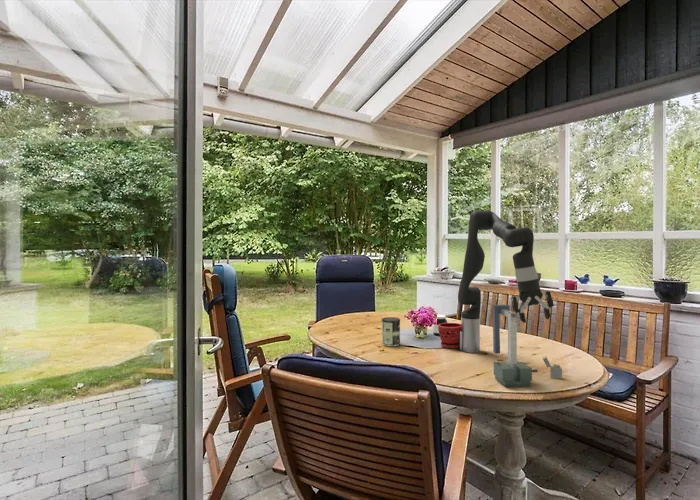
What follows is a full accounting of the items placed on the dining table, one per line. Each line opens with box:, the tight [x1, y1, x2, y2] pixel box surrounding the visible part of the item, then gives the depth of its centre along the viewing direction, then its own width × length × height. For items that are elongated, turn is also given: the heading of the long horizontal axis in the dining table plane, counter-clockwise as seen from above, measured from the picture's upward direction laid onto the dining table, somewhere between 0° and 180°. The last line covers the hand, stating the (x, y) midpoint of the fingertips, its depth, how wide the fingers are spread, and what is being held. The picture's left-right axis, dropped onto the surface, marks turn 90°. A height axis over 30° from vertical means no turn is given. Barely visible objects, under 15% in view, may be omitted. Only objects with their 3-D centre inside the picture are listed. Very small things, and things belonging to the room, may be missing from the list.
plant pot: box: [438, 322, 461, 349], centre depth 194 cm, size 13×13×12 cm
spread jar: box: [432, 314, 450, 336], centre depth 219 cm, size 12×11×12 cm
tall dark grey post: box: [492, 304, 511, 355], centre depth 152 cm, size 6×2×20 cm, turn 91°
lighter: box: [542, 355, 563, 380], centre depth 148 cm, size 7×2×8 cm, turn 57°
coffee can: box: [381, 316, 401, 347], centre depth 200 cm, size 10×10×14 cm
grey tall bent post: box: [493, 309, 538, 388], centre depth 147 cm, size 16×18×28 cm
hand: (535, 320), depth 136 cm, fingers open, 8 cm apart
